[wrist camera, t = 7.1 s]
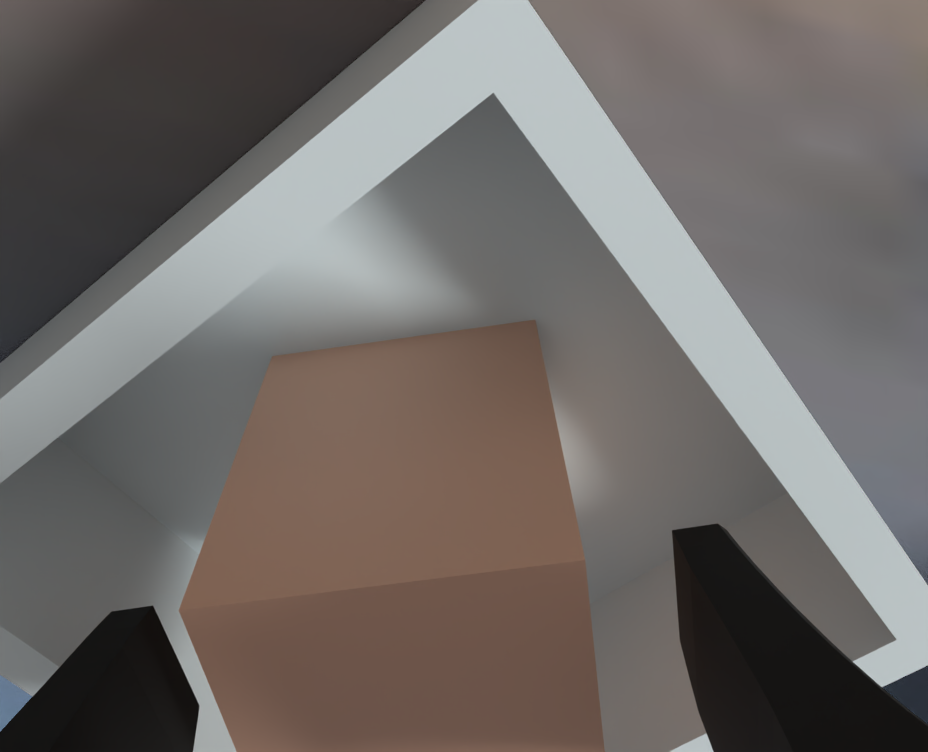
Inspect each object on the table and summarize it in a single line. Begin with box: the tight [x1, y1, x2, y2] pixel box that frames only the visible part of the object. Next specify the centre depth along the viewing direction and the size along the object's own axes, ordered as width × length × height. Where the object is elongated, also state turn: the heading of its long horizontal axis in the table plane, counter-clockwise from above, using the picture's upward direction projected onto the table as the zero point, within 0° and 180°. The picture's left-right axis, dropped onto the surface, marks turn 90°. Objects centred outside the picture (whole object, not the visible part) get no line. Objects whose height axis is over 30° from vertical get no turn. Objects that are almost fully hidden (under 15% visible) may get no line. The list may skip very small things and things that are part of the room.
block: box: [179, 320, 605, 752], centre depth 13 cm, size 4×4×6 cm
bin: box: [0, 0, 928, 752], centre depth 14 cm, size 12×12×4 cm
